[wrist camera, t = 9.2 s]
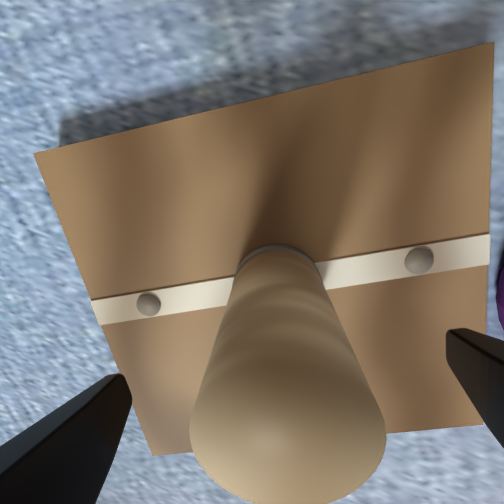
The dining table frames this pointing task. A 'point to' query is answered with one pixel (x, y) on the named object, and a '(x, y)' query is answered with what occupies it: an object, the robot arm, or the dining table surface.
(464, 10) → the dining table surface
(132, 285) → the board
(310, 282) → the tan wooden cylinder
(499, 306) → the mug
